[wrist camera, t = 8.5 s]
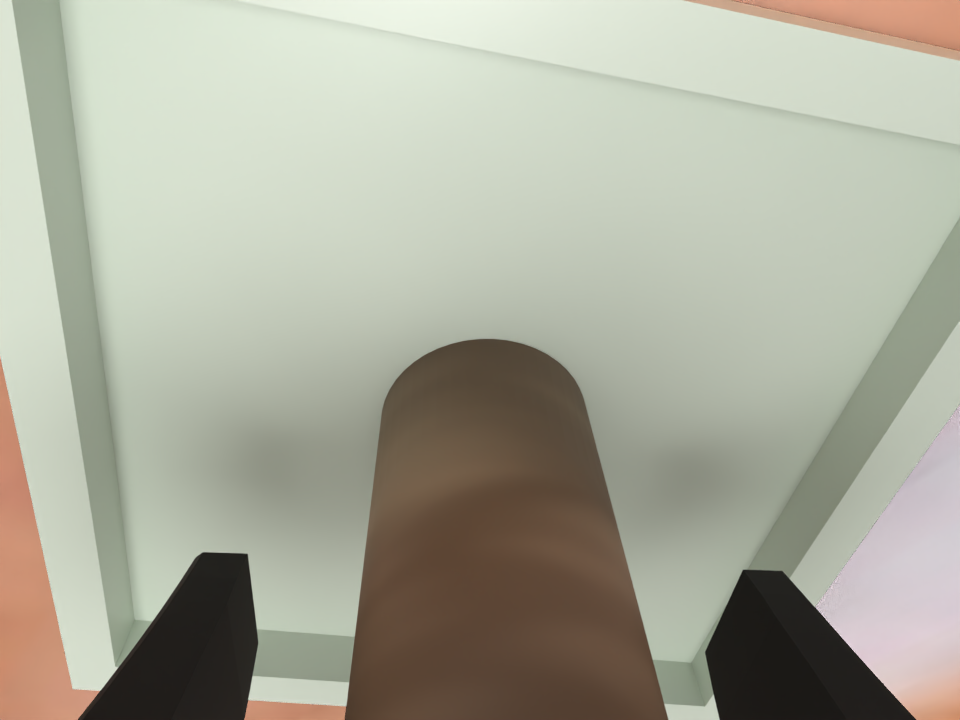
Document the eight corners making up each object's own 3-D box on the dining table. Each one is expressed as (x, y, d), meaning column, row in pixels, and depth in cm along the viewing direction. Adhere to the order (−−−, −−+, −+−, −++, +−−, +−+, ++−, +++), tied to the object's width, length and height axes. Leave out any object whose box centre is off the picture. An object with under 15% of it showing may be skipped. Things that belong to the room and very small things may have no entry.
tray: (1064, 74, 11) (1171, 107, 10) (703, 660, 20) (727, 730, 18) (-14, -165, 9) (-116, -175, 7) (107, 613, 18) (72, 689, 16)
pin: (603, 344, 13) (731, 725, 7) (568, 501, 15) (645, 888, 9) (381, 333, 13) (327, 722, 7) (380, 495, 15) (337, 891, 9)
